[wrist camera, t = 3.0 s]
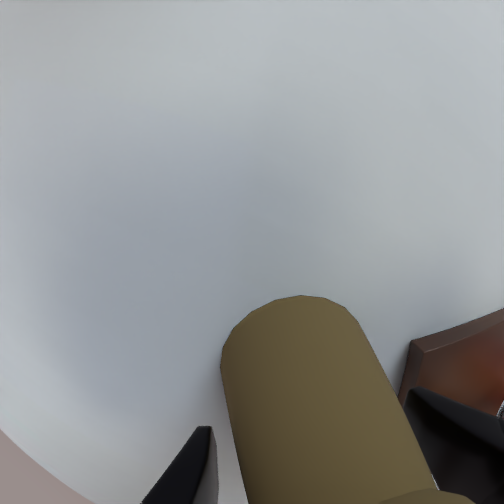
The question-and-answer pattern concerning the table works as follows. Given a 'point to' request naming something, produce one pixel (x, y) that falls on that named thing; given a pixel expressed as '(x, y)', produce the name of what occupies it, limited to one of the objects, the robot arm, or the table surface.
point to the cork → (319, 412)
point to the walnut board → (461, 363)
